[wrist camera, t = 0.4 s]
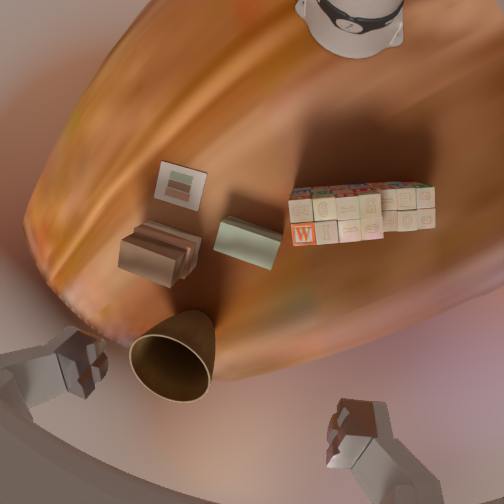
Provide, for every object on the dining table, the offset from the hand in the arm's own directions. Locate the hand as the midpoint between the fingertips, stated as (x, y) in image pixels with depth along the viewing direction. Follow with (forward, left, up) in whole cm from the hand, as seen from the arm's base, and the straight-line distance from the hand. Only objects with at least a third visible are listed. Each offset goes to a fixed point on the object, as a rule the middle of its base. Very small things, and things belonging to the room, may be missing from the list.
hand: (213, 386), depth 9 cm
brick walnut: (+16, -18, -39) cm, 46 cm away
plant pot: (+31, -10, -45) cm, 56 cm away
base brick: (+16, -18, -45) cm, 51 cm away
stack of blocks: (-2, +11, -45) cm, 46 cm away
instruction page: (+5, -19, -45) cm, 49 cm away
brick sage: (+10, -4, -45) cm, 46 cm away
